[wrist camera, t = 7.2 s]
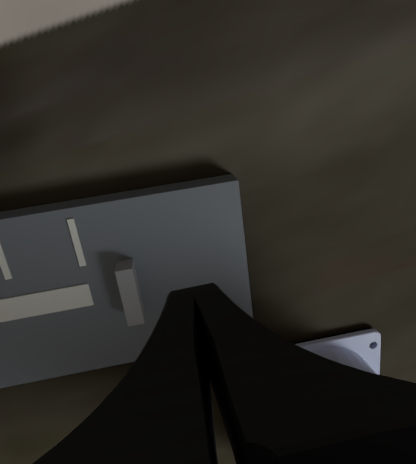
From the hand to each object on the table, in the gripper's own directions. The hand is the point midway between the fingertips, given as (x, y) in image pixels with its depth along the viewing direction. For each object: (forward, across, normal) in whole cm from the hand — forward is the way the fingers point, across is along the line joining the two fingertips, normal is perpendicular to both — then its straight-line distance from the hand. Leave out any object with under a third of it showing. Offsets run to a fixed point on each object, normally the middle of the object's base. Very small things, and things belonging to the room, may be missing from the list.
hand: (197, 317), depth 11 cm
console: (+10, +8, +3) cm, 13 cm away
